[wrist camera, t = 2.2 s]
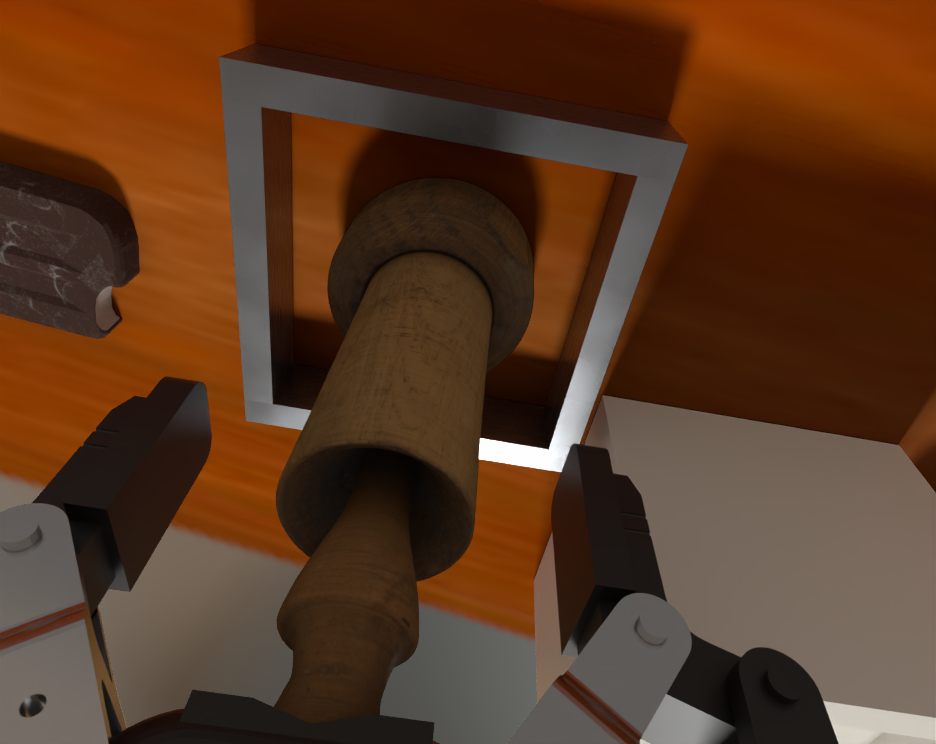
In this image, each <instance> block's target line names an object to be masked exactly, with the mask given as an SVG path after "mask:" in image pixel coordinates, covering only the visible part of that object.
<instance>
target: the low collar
mask: <svg viewBox="0 0 936 744" xmlns="http://www.w3.org/2000/svg"><path fill="white" fill-rule="evenodd" d="M219 61H220V74H221V88H222V101H223V115H224V128H225V142H226V155H227V169H228V182H229V196H230V209H231V223H232V237H233V250H234V264H235V277H236V291H237V304H238V318H239V331H240V345H241V358H242V372H243V385H244V399H245V413H246V421H251V422H257V423H263V424H269V425H275V426H281V427H287V428H294V429H300V430H303V427H304V425H305V423H306V421H307V419H308V417H309V415H310V412H311V410H312V408H313V406H314V403H315V401H316V399H317V397H318V395H319V392H320V390H321V388H322V386H323V384H324V381H325V379H326V377H327V375H328V373H329V371H330V370H325V369H319V368H313V367H307V366H301V365H295V364H294V332H293V247H292V163H291V112H292V113H297V114H303V115H308V116H314V117H319V118H325V119H330V120H336V121H341V122H346V123H352V124H357V125H363V126H368V127H374V128H379V129H384V130H390V131H395V132H401V133H406V134H412V135H417V136H422V137H428V138H433V139H439V140H444V141H450V142H455V143H461V144H466V145H471V146H477V147H482V148H488V149H493V150H499V151H504V152H509V153H515V154H520V155H526V156H531V157H537V158H542V159H548V160H553V161H558V162H564V163H569V164H575V165H580V166H586V167H591V168H596V169H602V170H607V171H613V172H617V174H616V178H615V181H614V184H613V187H612V191H611V194H610V197H609V201H608V204H607V207H606V210H605V214H604V217H603V220H602V224H601V227H600V230H599V233H598V237H597V240H596V243H595V247H594V250H593V253H592V256H591V260H590V263H589V266H588V270H587V273H586V276H585V280H584V283H583V286H582V289H581V293H580V296H579V299H578V303H577V306H576V309H575V312H574V316H573V319H572V322H571V326H570V329H569V332H568V335H567V339H566V342H565V345H564V349H563V352H562V355H561V358H560V362H559V365H558V368H557V372H556V375H555V378H554V381H553V385H552V388H551V391H550V395H549V398H548V401H547V404H546V406H540V405H534V404H528V403H522V402H516V401H510V400H504V399H498V398H492V397H486V396H484V400H483V412H482V425H481V437H480V450H479V459H484V460H490V461H496V462H502V463H508V464H514V465H520V466H527V467H533V468H539V469H545V470H551V471H557V472H562V469H563V466H564V463H565V461H566V458H567V455H568V452H569V450H570V447H571V446H572V444H574V443H575V444H580V441H581V438H582V435H583V433H584V430H585V427H586V424H587V422H588V419H589V416H590V413H591V411H592V408H593V405H594V402H595V400H596V397H597V394H598V391H599V389H600V386H601V383H602V380H603V378H604V375H605V372H606V369H607V367H608V364H609V361H610V358H611V356H612V353H613V350H614V347H615V345H616V342H617V339H618V336H619V334H620V331H621V328H622V325H623V323H624V320H625V317H626V314H627V312H628V309H629V306H630V303H631V301H632V298H633V295H634V292H635V290H636V287H637V284H638V281H639V279H640V276H641V273H642V270H643V268H644V265H645V262H646V259H647V257H648V254H649V251H650V248H651V246H652V243H653V240H654V237H655V235H656V232H657V229H658V226H659V224H660V221H661V218H662V215H663V213H664V210H665V207H666V204H667V202H668V199H669V196H670V193H671V191H672V188H673V185H674V182H675V180H676V177H677V174H678V171H679V169H680V166H681V163H682V160H683V158H684V155H685V152H686V149H687V147H688V144H687V142H686V141H685V140H684V139H683V138H682V137H681V136H680V134H679V133H678V132H677V131H676V130H675V129H674V128H673V126H672V125H671V124H670V123H669V122H668V121H663V120H658V119H653V118H647V117H642V116H637V115H631V114H626V113H621V112H615V111H610V110H605V109H599V108H594V107H589V106H583V105H578V104H573V103H567V102H562V101H557V100H551V99H546V98H541V97H536V96H530V95H525V94H520V93H514V92H509V91H504V90H498V89H493V88H488V87H482V86H477V85H472V84H466V83H461V82H456V81H450V80H445V79H440V78H434V77H429V76H424V75H419V74H413V73H408V72H403V71H397V70H392V69H387V68H381V67H376V66H371V65H365V64H360V63H355V62H349V61H344V60H339V59H333V58H328V57H323V56H317V55H312V54H307V53H302V52H296V51H291V50H286V49H280V48H275V47H270V46H264V45H259V44H253V45H250V46H247V47H245V48H242V49H239V50H237V51H234V52H231V53H228V54H226V55H223V56H220V57H219Z"/></svg>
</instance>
